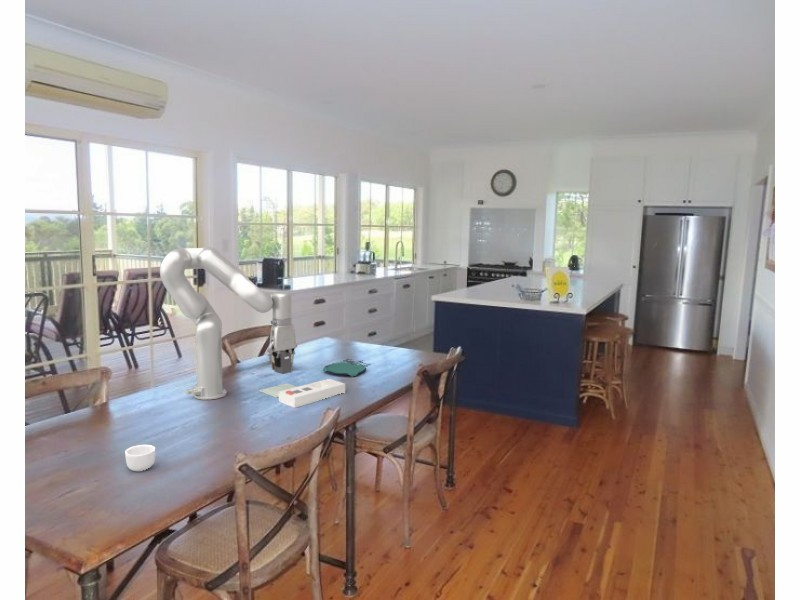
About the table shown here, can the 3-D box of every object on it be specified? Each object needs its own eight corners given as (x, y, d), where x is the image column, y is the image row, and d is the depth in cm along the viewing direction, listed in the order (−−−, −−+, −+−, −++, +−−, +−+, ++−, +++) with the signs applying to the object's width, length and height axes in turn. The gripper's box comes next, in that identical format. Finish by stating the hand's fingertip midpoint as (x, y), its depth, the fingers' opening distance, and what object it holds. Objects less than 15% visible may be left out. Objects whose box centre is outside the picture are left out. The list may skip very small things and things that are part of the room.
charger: (282, 374, 222) (282, 355, 221) (274, 371, 226) (274, 352, 225) (291, 372, 226) (291, 353, 224) (283, 369, 229) (283, 351, 228)
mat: (276, 398, 218) (276, 396, 218) (259, 391, 226) (259, 390, 226) (304, 390, 228) (304, 389, 228) (286, 384, 236) (286, 383, 236)
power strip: (294, 407, 207) (294, 395, 206) (278, 401, 214) (278, 389, 213) (345, 393, 227) (345, 381, 226) (329, 387, 233) (329, 376, 232)
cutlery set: (316, 374, 253) (316, 369, 252) (343, 360, 281) (343, 356, 281) (355, 380, 246) (355, 375, 246) (379, 365, 275) (379, 361, 274)
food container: (298, 367, 263) (298, 347, 261) (294, 371, 257) (294, 350, 255) (273, 366, 264) (273, 346, 262) (269, 369, 258) (269, 349, 256)
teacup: (162, 465, 157) (161, 447, 156) (139, 476, 150) (138, 458, 149) (137, 458, 161) (136, 441, 160) (114, 468, 154) (113, 450, 153)
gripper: (270, 326, 214) (271, 371, 217) (304, 320, 227) (304, 363, 229) (259, 323, 219) (260, 367, 222) (293, 318, 231) (293, 360, 234)
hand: (282, 365), depth 225 cm, fingers closed on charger, 4 cm apart
